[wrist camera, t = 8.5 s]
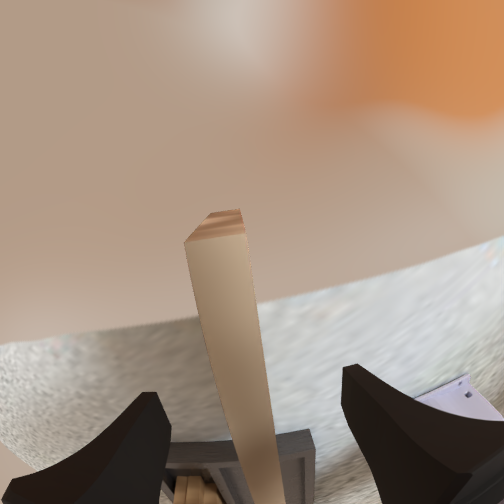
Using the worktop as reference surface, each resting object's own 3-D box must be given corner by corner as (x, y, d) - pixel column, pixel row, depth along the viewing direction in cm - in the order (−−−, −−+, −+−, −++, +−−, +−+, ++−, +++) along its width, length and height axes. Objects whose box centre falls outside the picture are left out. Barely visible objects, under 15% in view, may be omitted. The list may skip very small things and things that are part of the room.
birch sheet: (239, 208, 15) (246, 233, 7) (269, 412, 18) (286, 506, 10) (210, 213, 15) (184, 242, 7) (248, 415, 18) (257, 510, 10)
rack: (309, 428, 18) (315, 448, 16) (308, 515, 23) (311, 527, 21) (145, 442, 18) (140, 461, 16) (206, 524, 22) (205, 537, 20)
